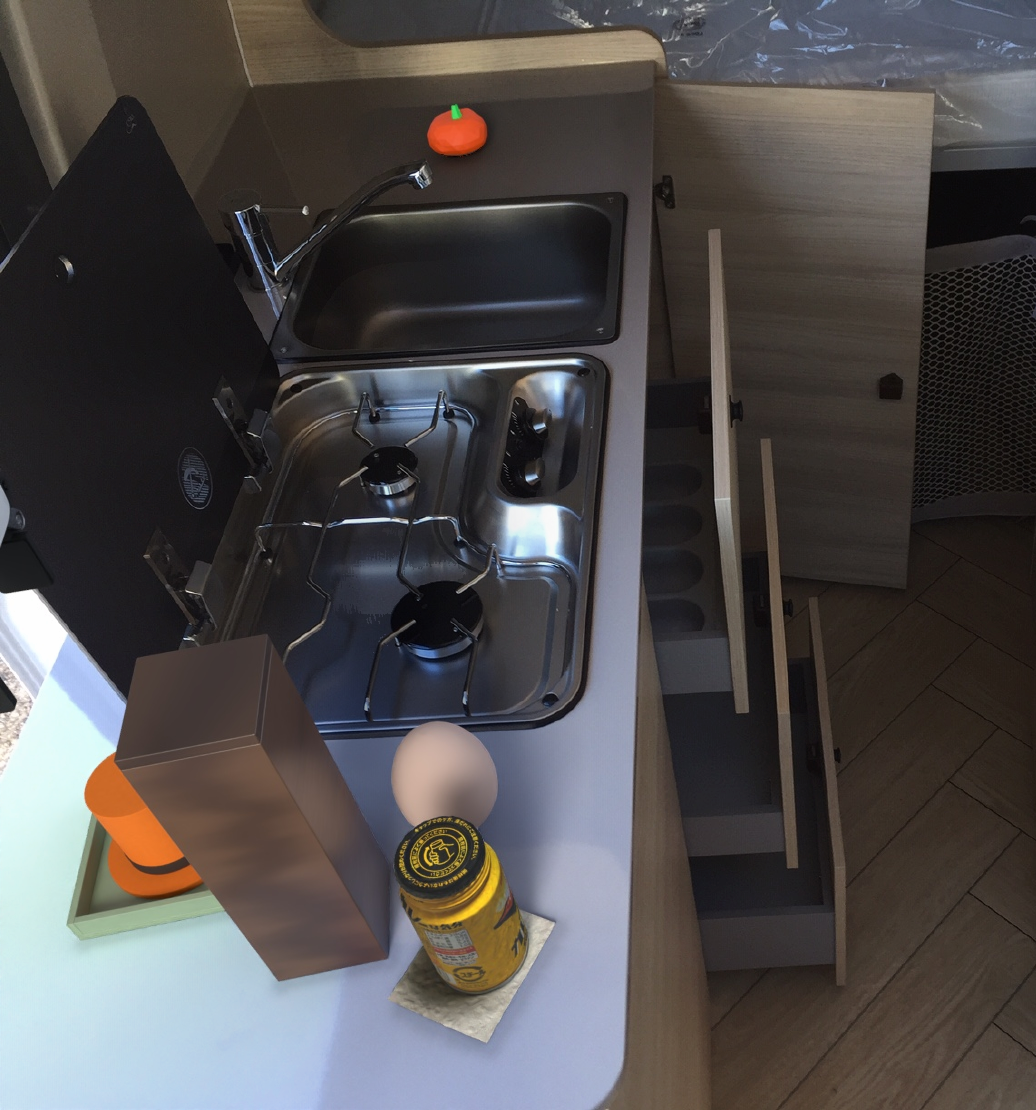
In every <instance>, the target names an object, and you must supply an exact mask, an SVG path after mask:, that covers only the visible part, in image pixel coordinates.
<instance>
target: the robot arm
mask: <svg viewBox="0 0 1036 1110" xmlns="http://www.w3.org/2000/svg"><path fill="white" fill-rule="evenodd" d="M1 471H2V470H1V469H0V472H1ZM9 481H10V480H9V479H8V478H7V477H6V476H5V475H4V474H0V594H5V595H8V594H14V593H19V592H26V591H32V590H38V589H45V588H50V587H51V586H54V584H55V581H56V579H57V575H56V573H55V571H54V570H53V568H52V567H51V565H50V564H49V562H48V561H47V559H46V558H45V555H44V554H43V553H42V551H41V550H40V548H39V546H38V545H37V543H36V541H35V540H34V538H33V537H32V535H31V534H30V532H29V531H28V530H26V531H23V530H25V528H26V518H25V515H24V513H23V511H22V510H20V508H19V509H18V508H15V507H14V506H13V499H12V493H11V487H12V485H11V483H9ZM17 705H18V698H16V696H15V695H14V693H13V692H12V691H11V689H10V688H9V686H8V685H7V684H6V682H5V680H3V678H2V677H1V676H0V715H1V714H7V713H12V712H14V711H15V710H16V707H17Z"/></svg>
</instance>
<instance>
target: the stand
mask: <svg viewBox="0 0 1036 1110" xmlns="http://www.w3.org/2000/svg"><path fill="white" fill-rule="evenodd" d="M115 752H116V754H115V758H114V763H115V764H116V765H117V767H118V768H119V769H120V770H121V772H122V774H123V775H124V776H125V778H126V779H127V780H128V782H129V783H130V784H131V786H132V787H133V788H134V790H135V791H136V792H137V794H138V795H139V796H140V798H141V799H142V800H143V802H144V803H145V804H146V806H147V807H148V808H149V810H150V811H151V812H152V814H153V815H154V816H155V818H156V819H157V820H158V822H159V823H160V824H161V826H162V827H163V828H164V830H165V831H166V832H167V834H168V835H169V836H170V838H171V839H172V840H173V842H174V843H175V844H176V846H177V847H178V848H179V850H180V851H181V852H182V854H183V855H184V856H185V858H186V859H187V860H188V862H189V863H190V864H191V866H192V867H193V868H194V870H195V871H196V872H197V874H198V875H199V876H200V878H201V879H202V880H203V882H204V883H205V884H206V886H207V887H208V888H209V890H210V891H211V892H212V894H213V895H214V896H215V898H216V899H217V900H218V902H219V903H220V904H221V906H222V907H223V908H224V910H225V911H224V912H226V914H227V915H228V916H229V918H230V920H231V921H232V922H233V923H234V924H235V926H236V927H237V929H238V930H239V931H240V933H241V934H242V935H243V937H244V938H245V939H246V941H247V942H248V943H249V944H250V946H251V947H252V949H253V950H254V951H255V952H256V954H257V955H258V957H259V958H260V959H261V960H262V962H263V963H264V964H265V965H266V967H267V969H268V970H269V972H270V973H271V974H272V975H273V976H274V978H275V979H276V981H277V982H283V981H284V982H285V981H289V980H293V979H297V978H302V977H303V978H304V977H307V976H312V975H317V974H322V973H327V972H332V971H337V970H340V969H346V968H351V967H355V966H359V965H364V964H365V965H366V964H368V963H372V962H373V963H374V962H378V961H384V960H387V959H389V927H390V923H389V922H390V880H391V879H390V877H391V875H390V874H391V865H390V863H389V861H388V859H387V857H386V855H385V853H384V851H383V849H382V847H381V845H380V844H379V841H378V840H377V839H376V836H375V835H374V832H373V831H372V828H371V827H370V825H369V823H368V821H367V819H366V817H365V816H364V813H363V811H362V810H361V808H360V805H359V803H358V802H357V800H356V798H355V796H354V795H353V793H352V791H351V788H350V787H349V785H348V783H347V782H346V779H345V778H344V775H343V774H342V772H341V770H340V768H339V765H337V762H336V759H334V757H333V755H332V753H331V751H330V749H329V747H328V745H327V744H326V742H325V740H324V737H323V735H322V734H321V732H320V730H319V729H318V727H317V724H316V722H315V721H314V719H313V717H312V715H311V713H310V711H309V709H308V707H307V706H306V704H305V701H304V700H303V698H302V696H301V695H300V692H299V691H298V689H297V687H296V685H295V683H294V681H293V679H292V678H291V675H290V674H289V672H288V670H287V668H286V666H285V664H284V662H283V660H282V658H281V657H280V655H279V653H278V651H277V649H276V648H275V645H274V643H273V641H272V640H271V638H270V636H269V634H268V633H263V634H257V635H252V636H246V637H242V638H236V639H231V640H226V641H221V642H214V643H211V644H204V645H198V646H194V647H188V648H183V649H178V650H172V651H167V652H162V653H155V654H150V655H145V656H139V657H137V658H136V660H135V664H134V669H133V674H132V678H131V683H130V687H129V691H128V696H127V701H126V705H125V710H124V714H123V718H122V723H121V728H120V732H119V736H118V741H117V745H116V749H115Z"/></svg>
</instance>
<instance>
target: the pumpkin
mask: <svg viewBox="0 0 1036 1110" xmlns="http://www.w3.org/2000/svg"><path fill="white" fill-rule="evenodd" d="M426 136H427V140H428V144H429V148H431V149H432V150H433V151H434V152H435V153H437V154H439V155H441V154H444V155H463V154H467V153H470V152H473V151H475V150H477V149H479V148H480V147H482V146H483V147H484V145H485V144H486V142H487V138H488V126H487V123H486V121H485V120H484V118H483V117H482V116H481V115H479V114H478V113H477V112H475V111H474V110H473V109H470V108H468V107H464V108H459V106H458V104H457V103H456V104H455V105H454V104H453V105H451V107H450V110H448V111H447V110H446V111H445V112H443V113H440V114H438V115H437V116H435V117H434V118H433V120H432V122H431V123H430V125H429V128H428V130H427V133H426ZM483 147H482V148H483ZM480 149H481V148H480ZM480 149H479V150H480ZM444 155H443V156H444ZM467 156H469V155H466V156H465V157H467ZM459 158H462V157H461V156H460V157H459Z"/></svg>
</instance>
